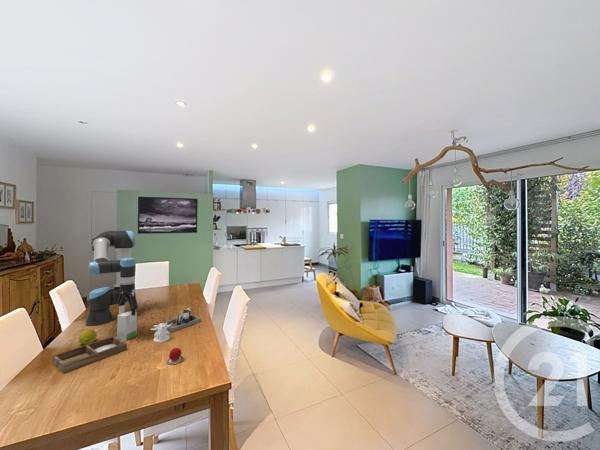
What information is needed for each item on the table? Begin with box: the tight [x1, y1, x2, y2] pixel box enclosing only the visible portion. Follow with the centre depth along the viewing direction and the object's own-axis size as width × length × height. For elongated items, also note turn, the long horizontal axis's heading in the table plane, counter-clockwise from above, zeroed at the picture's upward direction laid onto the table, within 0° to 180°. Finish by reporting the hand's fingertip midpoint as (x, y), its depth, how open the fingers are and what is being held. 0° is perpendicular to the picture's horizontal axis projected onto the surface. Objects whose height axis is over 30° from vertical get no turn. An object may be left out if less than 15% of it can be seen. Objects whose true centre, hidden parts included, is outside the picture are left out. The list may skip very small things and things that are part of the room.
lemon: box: [78, 328, 97, 346], centre depth 144 cm, size 11×8×8 cm
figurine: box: [150, 322, 173, 344], centre depth 150 cm, size 12×9×10 cm
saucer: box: [96, 344, 116, 352], centre depth 135 cm, size 10×10×2 cm
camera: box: [175, 307, 192, 325], centre depth 176 cm, size 16×9×10 cm, turn 19°
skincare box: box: [116, 310, 138, 342], centre depth 150 cm, size 8×7×16 cm
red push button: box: [165, 347, 185, 365], centre depth 128 cm, size 8×8×6 cm
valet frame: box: [163, 314, 202, 333], centre depth 173 cm, size 14×21×2 cm, turn 148°
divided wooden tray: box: [51, 335, 128, 374], centre depth 129 cm, size 16×26×4 cm, turn 148°
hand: (127, 318), depth 150 cm, fingers open, 13 cm apart
